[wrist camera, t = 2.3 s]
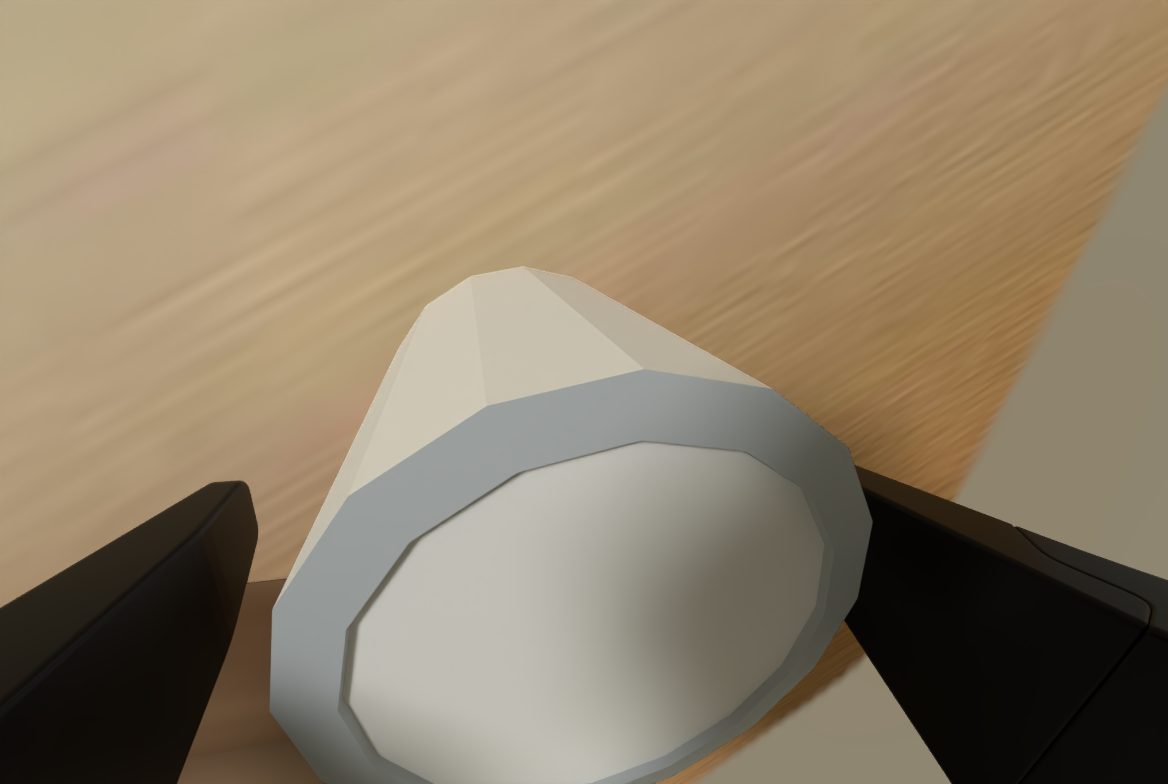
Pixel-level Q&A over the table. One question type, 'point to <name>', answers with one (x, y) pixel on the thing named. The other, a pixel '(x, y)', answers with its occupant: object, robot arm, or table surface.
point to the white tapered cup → (560, 553)
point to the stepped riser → (246, 710)
